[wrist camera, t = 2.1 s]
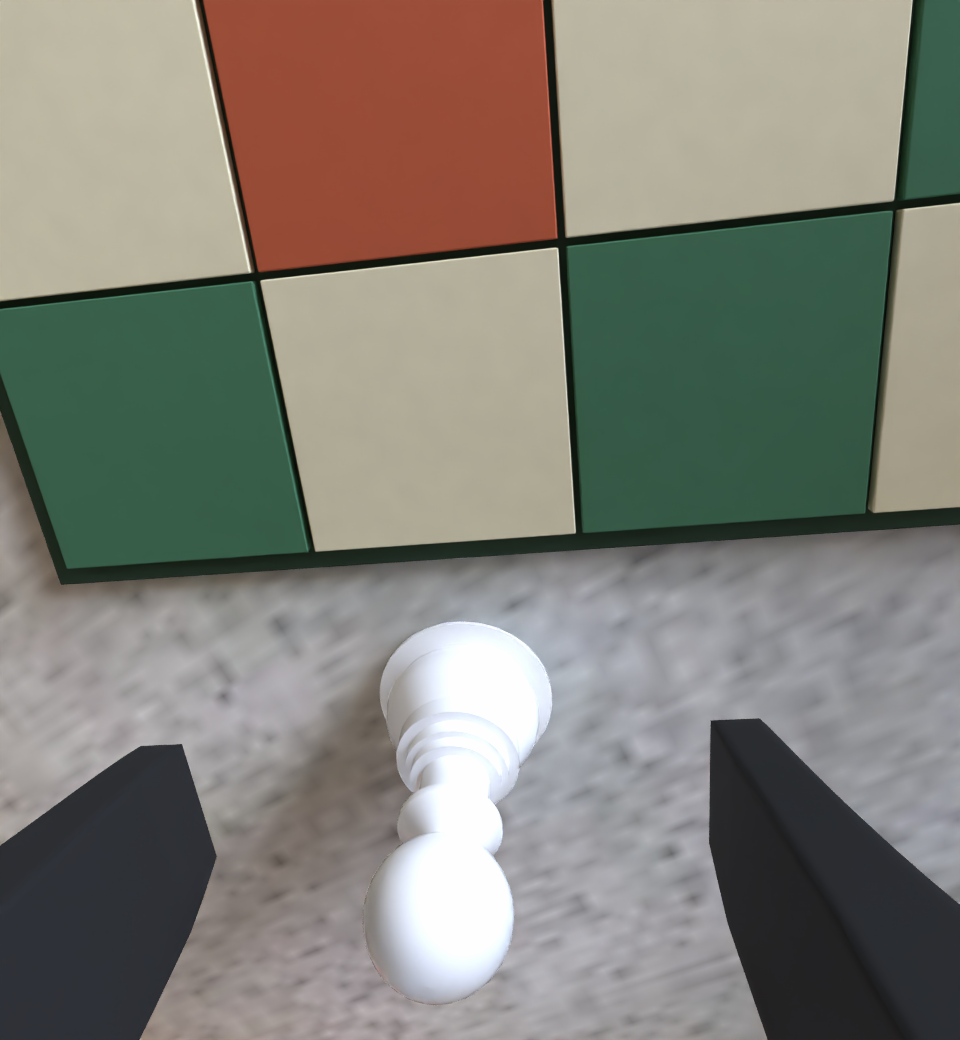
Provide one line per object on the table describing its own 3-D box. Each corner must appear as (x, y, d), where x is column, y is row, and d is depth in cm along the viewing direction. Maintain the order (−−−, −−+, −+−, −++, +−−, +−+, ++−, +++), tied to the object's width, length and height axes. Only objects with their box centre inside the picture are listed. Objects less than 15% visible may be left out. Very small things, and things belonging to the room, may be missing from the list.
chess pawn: (533, 602, 11) (534, 857, 7) (565, 748, 12) (585, 1059, 8) (361, 631, 12) (249, 890, 7) (406, 769, 13) (333, 1077, 8)
